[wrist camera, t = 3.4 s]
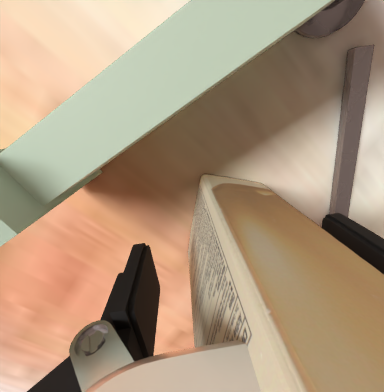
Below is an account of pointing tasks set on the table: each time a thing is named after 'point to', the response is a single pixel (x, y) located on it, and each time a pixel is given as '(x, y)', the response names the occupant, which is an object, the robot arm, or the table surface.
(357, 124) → the latch post
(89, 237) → the table surface
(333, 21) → the dark grey rounded knob
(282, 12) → the gate
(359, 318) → the skincare box
